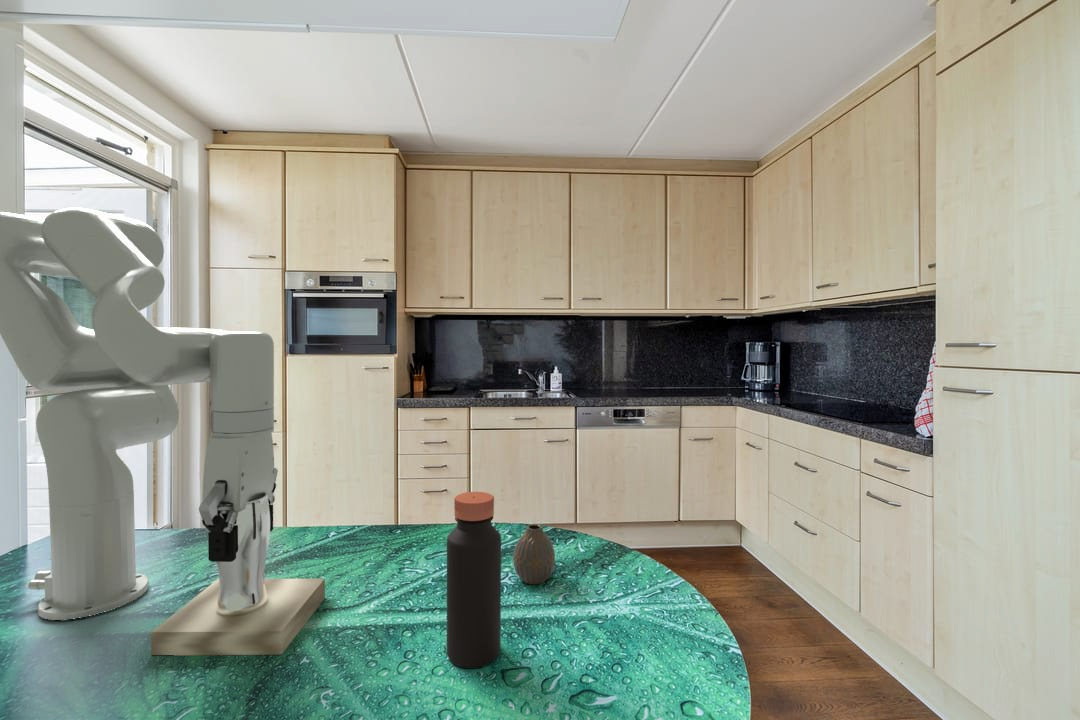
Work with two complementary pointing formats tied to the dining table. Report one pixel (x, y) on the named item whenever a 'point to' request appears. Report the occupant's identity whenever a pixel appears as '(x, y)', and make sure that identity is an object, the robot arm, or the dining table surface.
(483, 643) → the bottle
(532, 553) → the vase
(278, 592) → the plate
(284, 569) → the dining table surface
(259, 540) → the beer glass
